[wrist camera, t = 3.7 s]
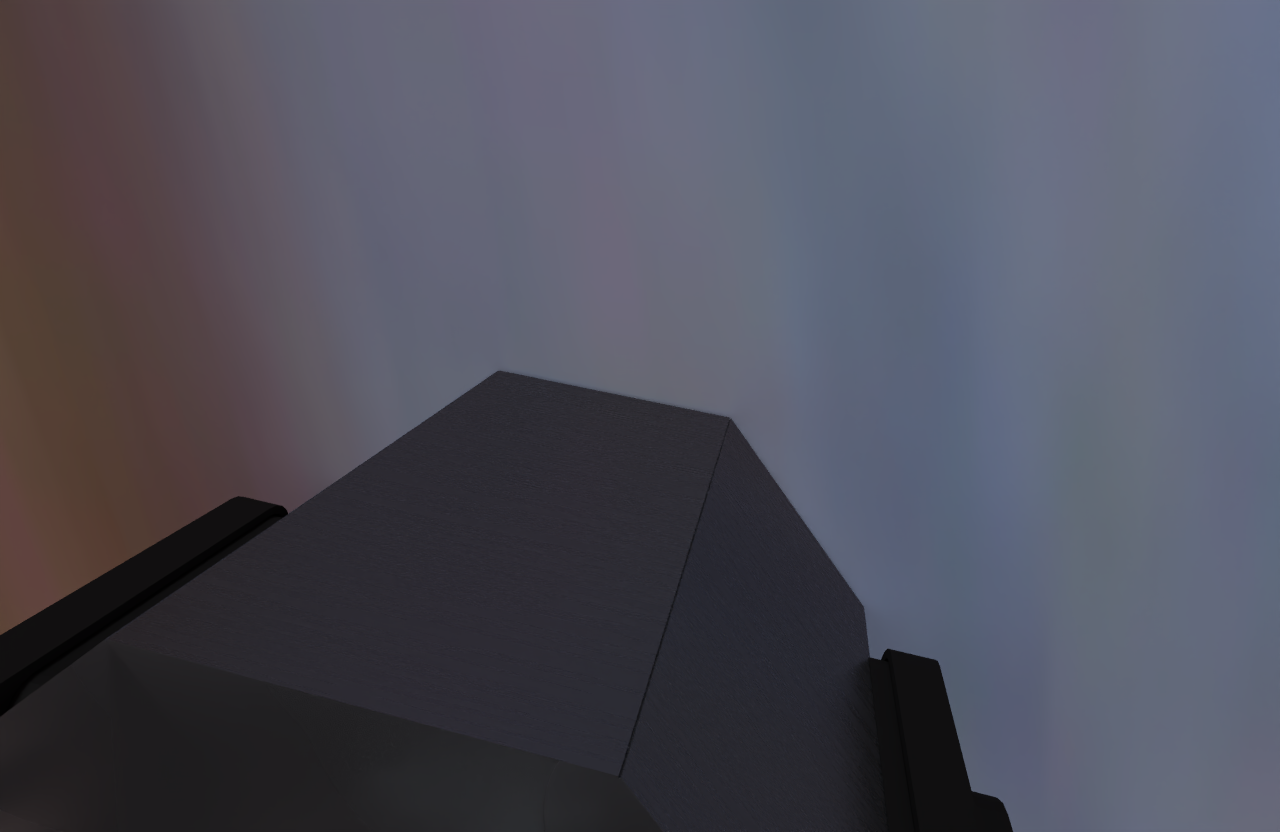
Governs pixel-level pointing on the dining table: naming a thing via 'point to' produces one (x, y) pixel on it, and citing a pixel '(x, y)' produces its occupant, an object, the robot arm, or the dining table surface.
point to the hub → (484, 650)
